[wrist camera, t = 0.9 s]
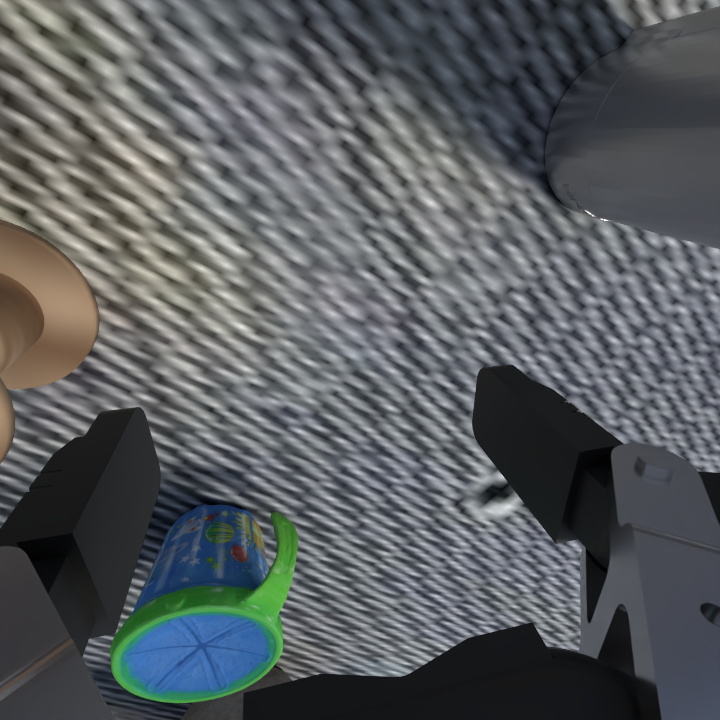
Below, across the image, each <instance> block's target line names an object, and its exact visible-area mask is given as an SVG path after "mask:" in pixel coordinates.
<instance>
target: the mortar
mask: <svg viewBox="0 0 720 720" xmlns="http://www.w3.org/2000/svg"><path fill="white" fill-rule="evenodd" d="M290 681H292V680H291V679H290V677H289V676H288V675H287V674H286V673H285V672H283V671H282V670H280V669H277V668H275V667H272V668H271V670H270V671H269V672H268V673H267V674H266V675H264V676H263V677H262V678H261V679H259V680H258V681H256V682H255V683H253V684H252V685H250V686H248V687H246V688H244V689H242V690H240V691H237V692H235V693H232V694H229V695H226V696H223V697H219V698H215V699H211V700H206V701H199V702H192V704H191V705H190V707H189V708H188V710H187V711H186V713H185V714H184V715H183V717H182V719H181V720H243V693H245V692H249V691H253V690H257V689H261V688H265V687H269V686H273V685H277V684H282V683H286V682H290Z"/></svg>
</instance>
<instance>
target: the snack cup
mask: <svg viewBox="0 0 720 720" xmlns="http://www.w3.org/2000/svg"><path fill="white" fill-rule="evenodd" d="M271 520H272V523H273V526H274V532H275V538H276V540H277V555H276V558H275V561H274V563H273V564H272V566H271V567H270V569H269V571H268V566H267V560H266V555H265V549H264V544H263V538H262V533H261V530H260V527H259V526H258V524H257V523H256V521H255V520H254V518H253V517H252V515H251V514H250V513H249V512H248V511H246V510H244V509H238V508H236V507H232V506H228V505H206V504H205V505H200V506H197V507H196V508H195V509H193V510H191V511H189V512H187V513H184V515H183V516H181V517H180V518H179V519H178V520H177V521H176V522H175V523H174V524H173V525H172V527H171V528H170V529H169V531H168V532H167V534H166V537H165V539H164V542H163V544H162V546H161V548H160V550H159V552H158V554H157V557H156V559H155V561H154V564H153V566H152V568H151V570H150V573H149V576H148V578H147V580H146V582H145V584H144V586H143V588H142V592H141V594H140V596H139V598H138V600H137V603H136V605H135V609H134V611H133V613H132V614H131V615H130V617H129V618H128V619H127V620H126V621H125V623H124V624H123V626H122V627H121V629H120V630H119V631H118V632H117V634H116V635H115V637H114V639H113V641H112V644H111V648H110V651H109V654H110V656H111V671H112V674H113V676H114V678H115V679H116V681H117V682H118V683H119V684H120V685H121V686H122V687H123V688H125V689H126V690H128V691H129V692H131V693H133V694H135V695H137V696H140V697H143V698H146V699H150V700H155V701H160V702H169V703H190V702H199V701H206V700H211V699H215V698H219V697H223V696H226V695H229V694H232V693H235V692H237V691H240V690H242V689H244V688H246V687H248V686H250V685H252V684H253V683H255V682H256V681H258V680H259V679H261V678H262V677H263V676H264V675H266V674H267V673H268V672H269V671H270V670H271V668H272V667H273V666H274V665H275V663H276V662H277V660H278V659H279V657H280V655H281V653H282V650H283V630H282V623H281V619H280V616H279V612H280V610H281V608H282V606H283V604H284V602H285V600H286V599H287V594H288V590H289V588H290V585H291V582H292V578H293V573H294V568H295V563H296V556H297V546H298V534H297V531H296V529H295V527H294V526H293V524H292V523H291V522H290V521H289V520H288V519H287V518H286V517H284V516H282V515H280V514H279V513H277V512H274V513H272V514H271Z"/></svg>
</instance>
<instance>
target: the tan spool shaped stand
mask: <svg viewBox="0 0 720 720" xmlns="http://www.w3.org/2000/svg"><path fill="white" fill-rule="evenodd" d="M98 331H99V310H98V306H97V302H96V299H95V296H94V294H93V291H92V289H91V287H90V285H89V284H88V282H87V280H86V278H85V277H84V276H83V274H82V273H81V271H80V270H79V269H78V268H77V267H76V265H75V264H74V263H73V262H72V261H71V260H70V259H69V258H68V257H67V256H66V255H65V254H64V253H62V252H61V251H60V250H59V249H58V248H56V247H55V246H54V245H52V244H51V243H49V242H48V241H46V240H45V239H43V238H41V237H40V236H38V235H36V234H35V233H32V232H30V231H28V230H26V229H24V228H22V227H19V226H16V225H14V224H11V223H8V222H5V221H1V220H0V463H1V462H2V461H3V459H4V458H5V456H6V455H7V453H8V451H9V449H10V447H11V444H12V442H13V437H14V432H15V413H14V408H13V404H12V400H11V398H10V395H9V393H8V390H7V389H26V388H33V387H39V386H43V385H47V384H50V383H52V382H55V381H57V380H60V379H61V378H63V377H65V376H67V375H68V374H69V373H71V372H72V371H73V370H75V369H76V368H77V367H78V366H79V365H80V363H81V362H82V361H83V360H84V359H85V357H86V356H87V355H88V354H89V352H90V351H91V349H92V348H93V345H94V343H95V341H96V339H97V335H98Z"/></svg>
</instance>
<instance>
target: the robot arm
mask: <svg viewBox="0 0 720 720" xmlns="http://www.w3.org/2000/svg"><path fill="white" fill-rule="evenodd" d="M545 164H546V173H547V177H548V180H549V184H550V186H551V188H552V190H553V192H554V194H555V195H556V197H557V198H558V199H559V200H560V201H561V202H562V203H563V204H564V205H565V206H566V207H568V208H570V209H572V210H573V211H575V212H578V213H582V214H586V215H590V216H591V217H595V218H598V219H602V220H608V221H613V222H617V223H621V224H624V225H628V226H632V227H636V228H639V229H643V230H647V231H651V232H655V233H659V234H663V235H667V236H671V237H675V238H679V239H682V240H686V241H690V242H694V243H698V244H702V245H706V246H710V247H714V248H718V249H720V6H719V7H715V8H711V9H708V10H704V11H701V12H697V13H694V14H690V15H686V16H683V17H679V18H676V19H672V20H668V21H665V22H661V23H658V24H654V25H650V26H647V27H643V28H640V29H636V30H634V31H633V32H632V33H631V34H630V36H629V37H628V39H627V40H626V42H625V43H624V44H623V45H622V46H621V47H620V48H619V49H617V50H615V51H614V52H612V53H610V54H608V55H606V56H603V57H601V58H599V59H598V60H597V61H595V62H594V63H593V64H591V65H590V66H589V67H588V68H586V69H585V70H584V71H583V72H582V73H581V74H580V75H579V76H578V77H577V79H576V80H575V81H574V82H573V83H572V84H571V85H570V87H569V88H568V90H567V91H566V93H565V95H564V96H563V98H562V99H561V101H560V102H559V105H558V107H557V109H556V111H555V114H554V116H553V118H552V121H551V124H550V128H549V131H548V135H547V140H546V149H545ZM472 426H473V432H474V436H475V438H476V441H477V442H478V444H479V445H480V447H481V448H482V449H483V451H484V452H485V453H486V454H487V456H488V457H489V458H490V460H491V461H492V462H493V463H494V465H495V466H496V467H497V469H498V470H499V471H500V473H501V474H502V475H503V476H504V478H505V479H506V480H507V482H508V483H509V484H510V485H511V487H512V488H513V489H514V491H515V492H516V493H517V494H518V496H519V497H520V498H521V500H522V501H523V502H524V503H525V505H526V506H527V507H528V509H529V510H530V511H531V513H532V514H533V515H534V516H535V518H536V519H537V520H538V522H539V523H540V524H541V525H542V527H543V528H544V529H545V531H546V532H547V533H548V534H549V536H550V537H551V538H552V540H553V541H554V542H555V543H556V544H557V543H562V542H567V541H572V540H577V539H579V540H580V542H581V543H582V544H583V545H584V546H583V549H582V553H581V557H580V592H581V639H580V649H579V653H578V652H575V651H571V650H567V649H561V648H556V647H547V646H546V645H545V643H544V642H543V640H542V638H541V636H540V635H539V633H538V631H537V630H536V628H535V626H534V625H533V623H528V624H524V625H520V626H516V627H512V628H508V629H504V630H499V631H495V632H491V633H487V634H483V635H479V636H475V637H471V638H467V639H466V640H464V641H463V642H461V643H459V644H458V645H456V646H454V647H453V648H451V649H449V650H448V651H446V652H445V653H443V654H441V655H440V656H438V657H436V658H435V659H433V660H431V661H430V662H428V663H426V664H425V665H423V666H422V667H420V668H418V669H417V670H415V671H413V672H412V673H410V674H408V675H406V676H402V677H381V676H360V675H338V674H319V675H314V676H310V677H306V678H302V679H298V680H294V681H290V682H286V683H282V684H277V685H273V686H269V687H265V688H261V689H257V690H253V691H249V692H245V693H243V720H720V473H712V472H698V471H697V470H696V469H695V468H694V467H693V466H692V465H691V464H690V463H688V462H687V461H686V460H684V459H683V458H681V457H679V456H677V455H675V454H673V453H671V452H669V451H667V450H664V449H661V448H658V447H655V446H651V445H646V444H638V443H628V444H623V443H622V442H620V441H619V440H618V439H617V438H615V437H614V436H613V435H611V434H610V433H609V432H607V431H606V430H605V429H604V428H602V427H601V426H600V425H598V424H597V423H596V422H595V421H593V420H592V419H591V418H589V417H588V416H587V415H586V414H584V413H580V410H579V409H578V408H576V407H575V406H574V405H573V404H571V403H568V401H567V400H566V399H565V398H564V397H562V396H561V395H560V394H558V393H557V392H556V391H554V390H553V389H551V388H549V387H546V386H544V385H542V384H540V383H537V382H535V381H532V380H531V379H530V378H529V377H527V376H526V375H525V374H524V373H522V372H521V371H520V370H519V369H517V368H516V367H515V366H513V365H501V366H493V367H484V368H482V369H480V371H479V373H478V376H477V384H476V392H475V401H474V410H473V418H472ZM40 474H41V475H40V476H37V478H36V479H35V481H34V482H33V483H32V485H31V486H30V488H29V492H26V493H25V495H24V496H23V498H22V499H21V500H20V502H19V503H18V505H17V506H16V507H15V509H14V510H13V512H12V513H11V514H10V516H9V517H8V519H7V520H6V521H5V523H4V524H3V526H2V527H1V528H0V720H115V719H114V717H113V715H112V713H111V711H110V709H109V708H108V706H107V704H106V702H105V700H104V698H103V696H102V694H101V692H100V691H99V689H98V687H97V685H96V683H95V681H94V679H93V677H92V675H91V673H90V672H89V670H88V668H87V666H86V664H85V662H84V660H83V658H82V656H83V654H84V651H85V648H86V645H87V643H88V640H89V638H94V637H99V636H104V635H109V634H114V633H116V629H117V626H118V623H119V620H120V616H121V613H122V610H123V607H124V603H125V600H126V597H127V594H128V591H129V587H130V584H131V581H132V578H133V574H134V571H135V568H136V565H137V561H138V558H139V555H140V552H141V549H142V545H143V542H144V539H145V536H146V532H147V529H148V526H149V523H150V519H151V516H152V513H153V510H154V506H155V503H156V500H157V497H158V494H159V490H160V480H161V479H160V466H159V462H158V458H157V454H156V451H155V447H154V444H153V440H152V437H151V433H150V429H149V426H148V422H147V419H146V416H145V413H144V411H143V410H142V408H140V407H136V408H127V409H118V410H110V411H102V412H101V413H100V414H99V415H98V416H97V418H96V419H95V421H94V422H93V424H92V426H91V427H90V429H89V430H88V432H87V433H86V435H85V436H84V437H76V438H74V439H73V440H71V441H70V442H69V443H67V444H66V445H65V446H64V447H62V448H61V449H60V450H58V451H57V452H56V453H54V454H53V455H52V457H51V458H50V460H49V461H48V462H47V464H46V465H45V467H44V468H43V469H42V471H41V472H40Z"/></svg>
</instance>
